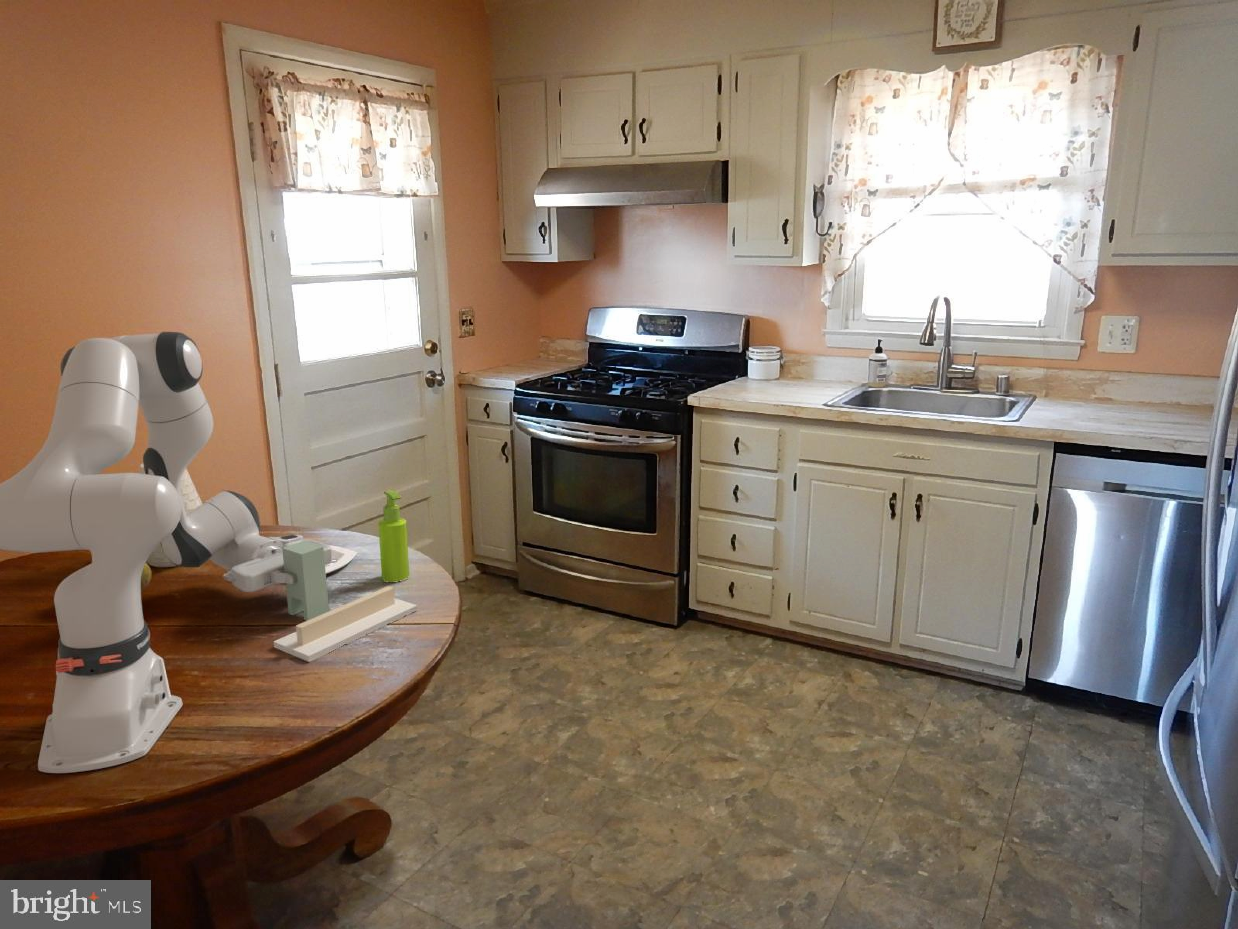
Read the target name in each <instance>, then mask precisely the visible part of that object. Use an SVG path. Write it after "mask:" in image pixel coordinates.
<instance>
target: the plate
mask: <svg viewBox="0 0 1238 929" xmlns="http://www.w3.org/2000/svg"><path fill="white" fill-rule="evenodd" d="M328 545H329V544H328ZM329 546H330V547H331V551H332V558H337V559H338V560H337V562H335V563H330V564H327V565H330V566H327V567H325V571H326V575H327V573H328V574H330V573H332V572H334V571H337V570H339V569H341V568H343V567H345V566H346V565H348V564H349V563H351V561H352V560H353V559H354V558H355V557H356V555H358V552H357V551H355V550H352V549H348V548H345V547H341V546H338V545H337V546H336V545H329ZM332 561H336V560H332Z"/></svg>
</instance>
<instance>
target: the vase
mask: <svg viewBox="0 0 1238 929" xmlns="http://www.w3.org/2000/svg"><path fill="white" fill-rule="evenodd" d="M138 473H139V474H145V470H144V465H143V462H142V463H141V464H139V468H138ZM179 488H180V493H181V497H182V501H183V505H184V509H185V513H186V514H187V513H189V512H190V511H192V510H194V509H195V508H197V507H198V506H200V505H202V504H203V502H202V500H201V497H200V495H199V493H198V491H197V489H196V486H195V484H194V482H193V480H192V477H191V475H190V473H189V470H188V467H187V468H186V469H185V471H184V472H183V474H182V476H181V479H180V483H179ZM146 563H147V564H148V566H151V567H154V568H173V567H178V566H177V565H175V564H173V563H172V562H171V561H170V560H169V559H168V558H167V556H166V555H165V553H164V552H163V550H162V547H161V544H159V545H158V546H157V547H156V548H155V549H154V550H153V551H152V553H151V554H150V556H149V557H148V559H147V561H146Z"/></svg>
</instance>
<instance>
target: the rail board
mask: <svg viewBox="0 0 1238 929" xmlns="http://www.w3.org/2000/svg"><path fill="white" fill-rule="evenodd" d="M416 609H417V610H418V605H417V604H414V603H411V602H408V601H406V600H401V599H398V598H397V597H396V598H395V587H392V586H390V585H389V586H388V585H387V586H385V587H383V588H381V589H378V590H376V591H374V592H371V593H369V594H366V595H365V596H362V597H360V598H357V599H355V600H353V601H350V602H349V603H345V604H343V605H341V606H339V607H337V608H334V609H331V610H329V612H327V613H324V614H322V615H320V616H317V617H315V618H313V619H310V620H308V621H306V620H305V621H303V622H301V623H299V624H297V625H295V630H296V631H294V632H292V633H290V634H288V635H286V636H282V637H281V638H279V639H276V640H274V641H273V647H274V648H275V649H277V650H280V651H282V652H284V653H286V654H289V655H291V656H294V657H296V658H299V659H300V660H304V661H306V662H308V663H311V662H312V661H315V660H317V659H319V658H321V657H323V656H325V655H328V654H329V652H330V653H332V652H334V651H336V650H338V649H339V648H338V647H340V648H342V647H344V646H345V645H344V644H346V643H349V642H351V641H353V640H355V641H357V640H359V639H361V638H363V637H365V636H367V635H366V634H368V633H370V634H371V632H372V633H374V632H376V631H378V630H380V629H381V628H380V627H382V626H384V627H386V626H385V625H387V624H388V623H391V624H393V623H394V622H393V621H395V620H397V619H399V618H401V617H402V616H405V615H407V614H408V613H411V612H413V611H415V610H416ZM405 617H406V616H405ZM401 619H402V618H401ZM399 620H400V619H399ZM397 621H398V620H397ZM392 622H393V623H392ZM395 622H396V621H395ZM387 626H388V625H387ZM379 628H380V629H379ZM382 628H383V627H382ZM375 630H376V631H375ZM373 631H374V632H373ZM368 635H369V634H368ZM360 637H361V638H360ZM358 638H359V639H358ZM356 639H357V640H356ZM353 642H354V641H353ZM351 643H352V642H351ZM349 644H350V643H349ZM343 645H344V646H343ZM341 646H342V647H341ZM337 648H338V649H337ZM335 649H336V650H335ZM333 650H334V651H333ZM331 651H332V652H331Z"/></svg>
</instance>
